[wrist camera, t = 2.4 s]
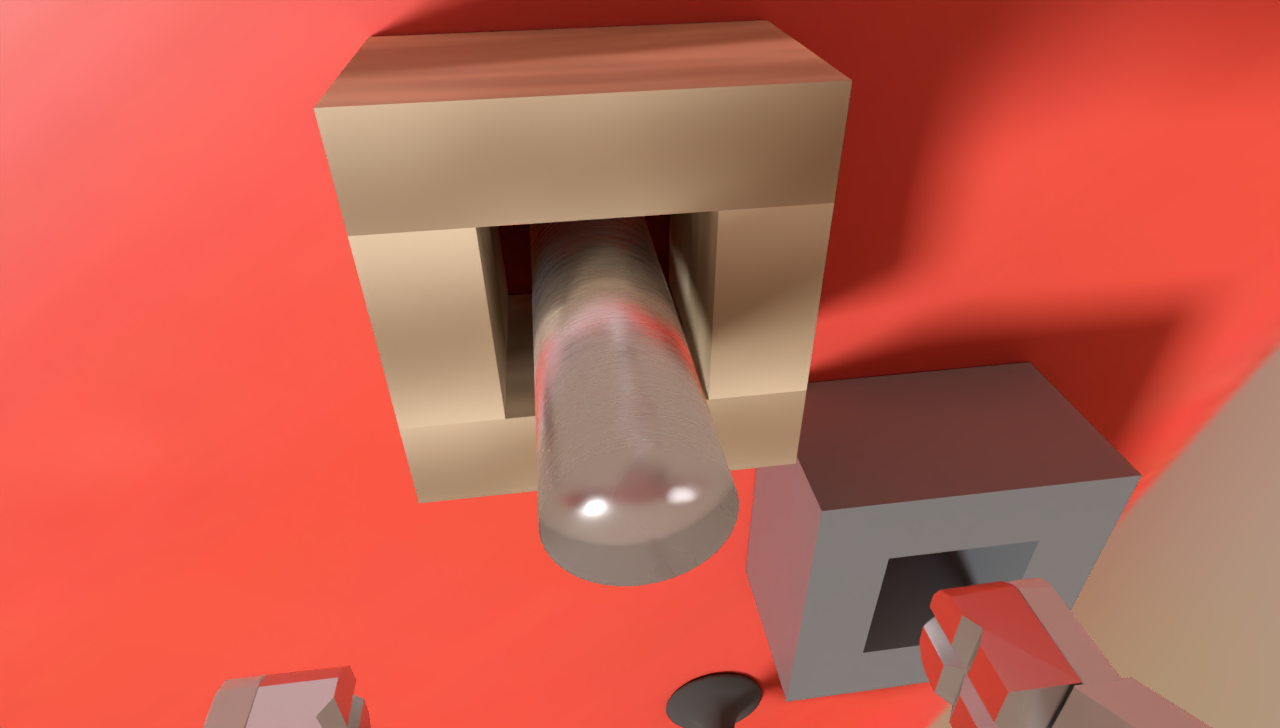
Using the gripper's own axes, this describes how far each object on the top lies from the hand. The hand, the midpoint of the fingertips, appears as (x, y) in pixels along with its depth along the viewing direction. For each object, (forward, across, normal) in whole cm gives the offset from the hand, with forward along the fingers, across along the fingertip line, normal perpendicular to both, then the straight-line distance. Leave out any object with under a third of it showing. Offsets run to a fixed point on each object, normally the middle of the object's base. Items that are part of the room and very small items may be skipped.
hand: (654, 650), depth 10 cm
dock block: (+14, -11, +11) cm, 21 cm away
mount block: (+14, 0, -1) cm, 14 cm away
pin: (+14, 0, -1) cm, 14 cm away
